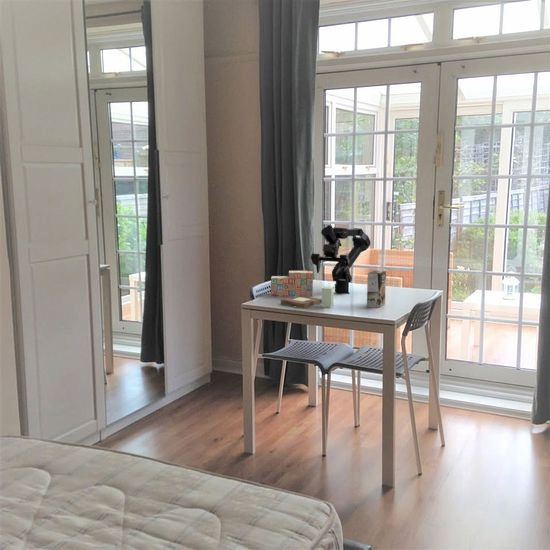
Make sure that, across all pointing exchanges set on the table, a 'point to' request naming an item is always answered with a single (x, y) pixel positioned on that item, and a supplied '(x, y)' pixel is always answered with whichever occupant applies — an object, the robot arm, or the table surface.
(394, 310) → the table surface
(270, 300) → the table surface
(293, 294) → the stack of blocks
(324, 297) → the pillar block
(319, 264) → the robot arm
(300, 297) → the base board
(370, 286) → the coffee box
